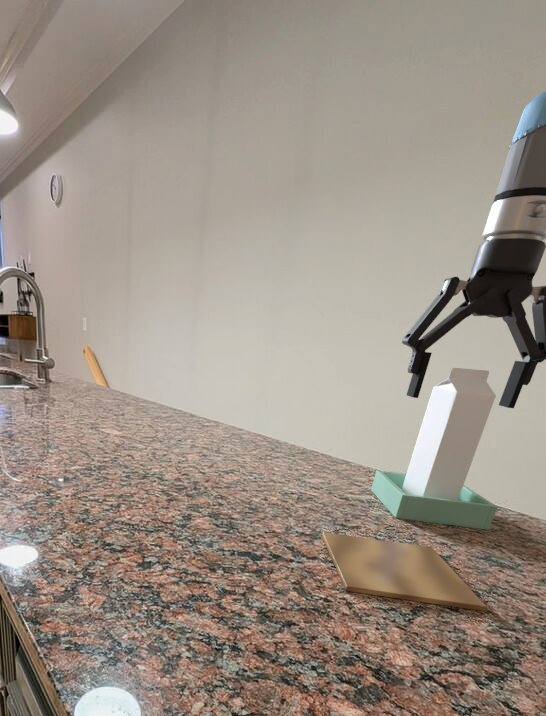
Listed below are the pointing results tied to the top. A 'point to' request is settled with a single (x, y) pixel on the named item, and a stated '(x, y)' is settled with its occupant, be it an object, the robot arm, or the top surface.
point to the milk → (449, 435)
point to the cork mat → (398, 571)
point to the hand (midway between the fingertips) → (458, 401)
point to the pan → (432, 504)
